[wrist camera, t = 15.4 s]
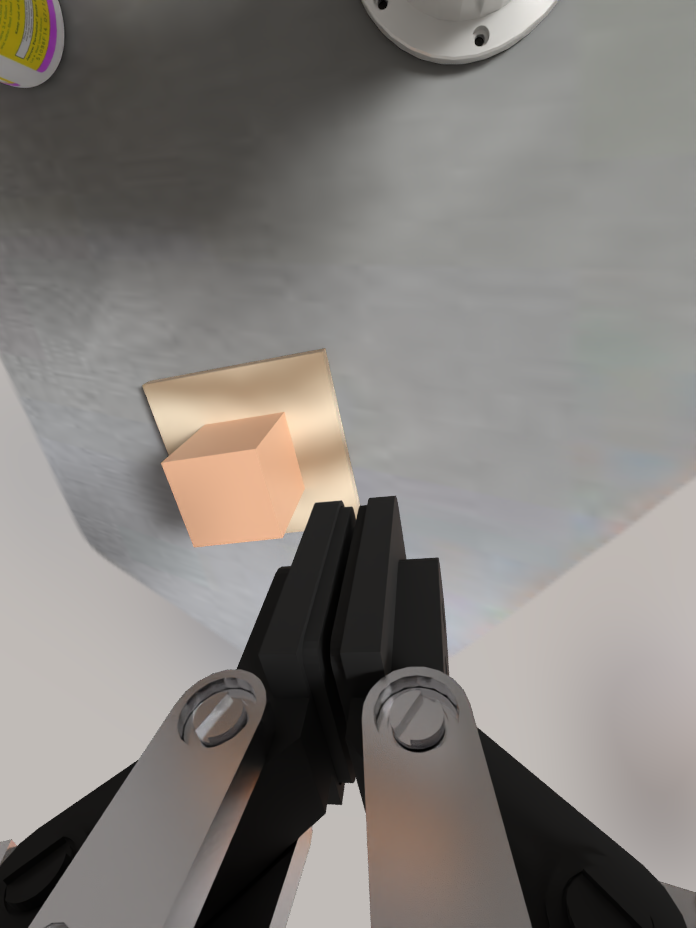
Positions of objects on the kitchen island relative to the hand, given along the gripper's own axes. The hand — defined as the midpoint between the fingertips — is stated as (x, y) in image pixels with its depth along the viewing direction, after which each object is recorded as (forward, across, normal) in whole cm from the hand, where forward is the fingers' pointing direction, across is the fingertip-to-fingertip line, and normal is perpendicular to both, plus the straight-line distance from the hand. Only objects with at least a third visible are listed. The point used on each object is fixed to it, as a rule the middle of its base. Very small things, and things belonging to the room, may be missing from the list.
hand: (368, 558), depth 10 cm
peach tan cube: (+24, +12, +8) cm, 28 cm away
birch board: (+25, +12, +8) cm, 29 cm away
